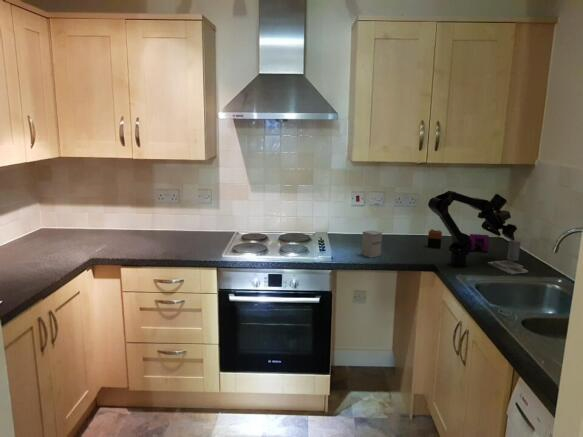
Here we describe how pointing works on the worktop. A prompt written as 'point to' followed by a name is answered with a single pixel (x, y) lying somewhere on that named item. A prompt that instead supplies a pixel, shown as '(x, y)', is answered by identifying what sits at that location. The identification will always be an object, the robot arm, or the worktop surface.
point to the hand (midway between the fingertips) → (506, 237)
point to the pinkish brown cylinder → (371, 243)
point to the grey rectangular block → (513, 250)
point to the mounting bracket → (479, 241)
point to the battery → (434, 239)
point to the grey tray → (508, 266)
